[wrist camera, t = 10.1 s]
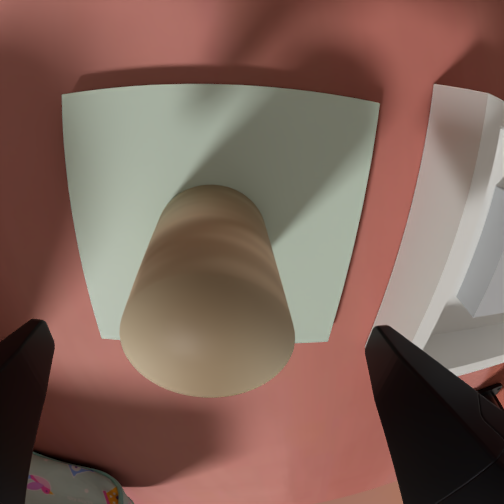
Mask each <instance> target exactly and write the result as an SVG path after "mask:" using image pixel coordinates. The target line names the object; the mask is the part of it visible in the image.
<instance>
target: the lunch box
mask: <svg viewBox="0 0 504 504" xmlns="http://www.w3.org/2000/svg"><path fill="white" fill-rule="evenodd" d="M25 504H134V503H133V501H132V500H131V499H130V498H129V497H128V496H127V495H126V494H125V492H124V490H123V488H122V486H121V485H120V483H119V482H118V481H117V480H116V479H115V478H113V477H112V476H110V475H109V474H107V473H105V472H102V471H100V470H96V469H92V468H88V467H83V466H78V465H74V464H69V463H65V462H62V461H58V460H55V459H52V458H49V457H46V456H43V455H41V454H38V453H35V452H33V453H32V459H31V464H30V470H29V477H28V483H27V490H26V498H25Z"/></svg>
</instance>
